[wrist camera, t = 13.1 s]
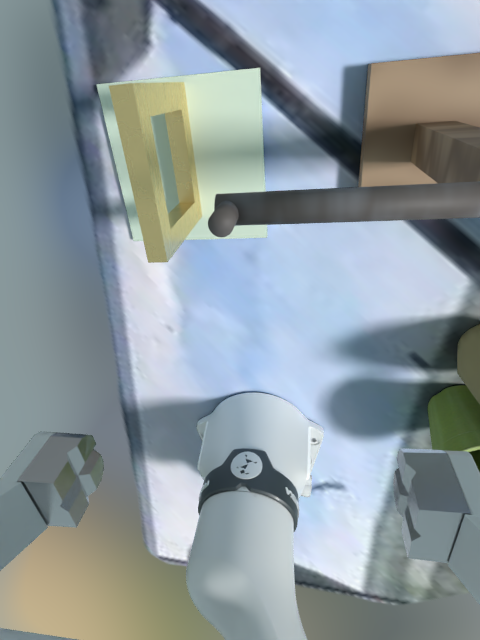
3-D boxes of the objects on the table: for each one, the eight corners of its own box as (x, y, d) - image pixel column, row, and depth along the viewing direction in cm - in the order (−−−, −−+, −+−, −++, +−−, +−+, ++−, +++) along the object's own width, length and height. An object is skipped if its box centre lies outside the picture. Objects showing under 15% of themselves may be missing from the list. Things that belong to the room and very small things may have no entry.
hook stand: (476, 204, 36) (662, 339, 17) (261, 212, 39) (221, 333, 21) (514, 49, 30) (871, -2, 11) (254, 75, 33) (188, 69, 14)
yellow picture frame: (202, 216, 40) (167, 262, 30) (187, 216, 40) (148, 262, 30) (184, 82, 34) (132, 83, 24) (166, 83, 34) (108, 85, 24)
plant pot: (393, 389, 49) (413, 463, 40) (492, 356, 44) (542, 430, 35) (426, 446, 54) (451, 524, 44) (519, 421, 49) (570, 502, 39)
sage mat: (267, 235, 41) (266, 237, 40) (135, 239, 43) (133, 241, 43) (260, 68, 33) (259, 67, 32) (99, 84, 35) (96, 84, 35)
